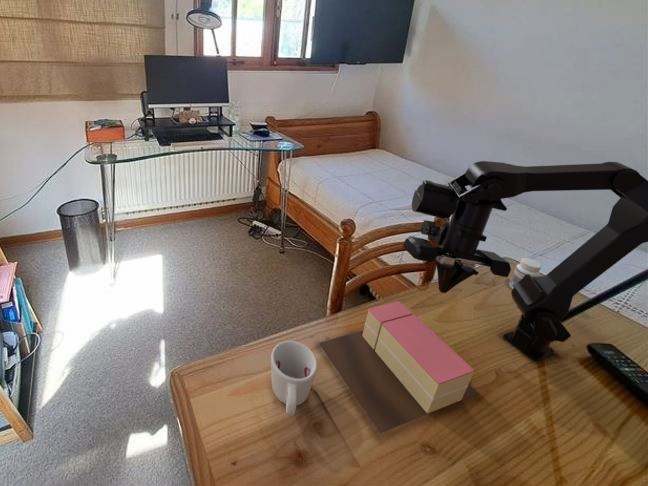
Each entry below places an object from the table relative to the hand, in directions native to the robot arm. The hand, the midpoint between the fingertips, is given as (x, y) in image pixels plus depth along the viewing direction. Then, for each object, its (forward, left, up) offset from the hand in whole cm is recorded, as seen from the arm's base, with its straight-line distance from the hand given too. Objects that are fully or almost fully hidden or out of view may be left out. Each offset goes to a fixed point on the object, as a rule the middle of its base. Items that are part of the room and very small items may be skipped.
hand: (441, 291), depth 71 cm
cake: (+12, +8, -10) cm, 18 cm away
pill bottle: (-36, -4, -11) cm, 38 cm away
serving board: (+15, +5, -11) cm, 19 cm away
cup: (+37, +4, -11) cm, 39 cm away
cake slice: (+12, -1, -10) cm, 16 cm away
